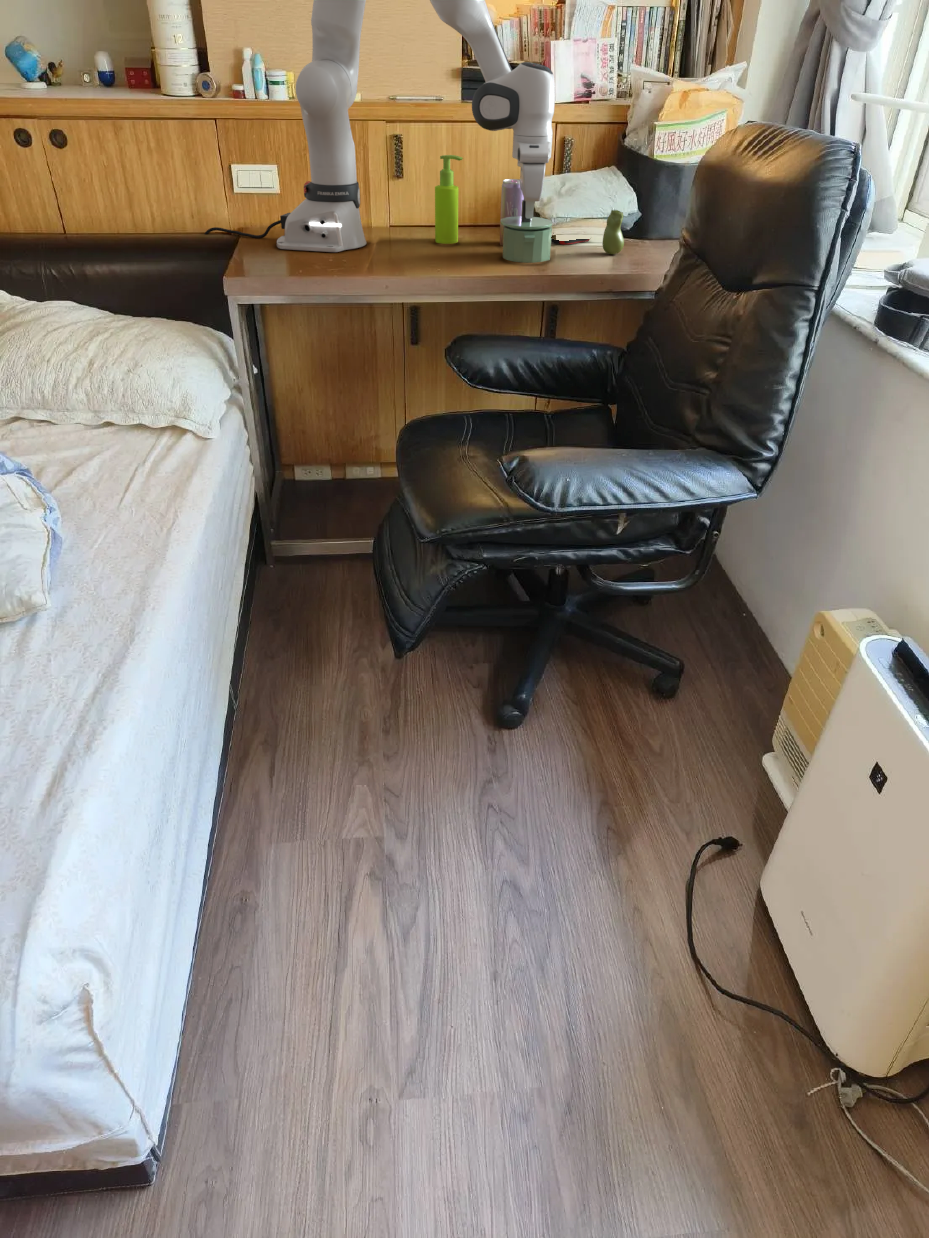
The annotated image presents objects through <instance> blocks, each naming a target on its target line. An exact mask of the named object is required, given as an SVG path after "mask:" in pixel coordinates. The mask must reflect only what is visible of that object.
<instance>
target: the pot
mask: <svg viewBox="0 0 929 1238" xmlns="http://www.w3.org/2000/svg"><path fill="white" fill-rule="evenodd" d="M552 235H553V227H552V226H551V227H548V228H543V229H539V230H519V229H513V228H510V227H507V226H504V228H503V245H502V254H501V255H502V258H503V259H504V260H507V261H509V262H515V263H525V264H527V263H528V264H529V263H530V264H531V263H542V262H547V261H550V260H551V250H552V249H551V248H552V242H551V237H552Z"/></svg>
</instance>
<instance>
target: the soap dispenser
mask: <svg viewBox="0 0 929 1238" xmlns="http://www.w3.org/2000/svg"><path fill="white" fill-rule="evenodd" d="M439 159H440V160H442V161H443V162H442V163H443V164H442V165H443V166H442V169H441V170H440V171H439V184H438V185H435V186H434V242H435V243H437V244H442V245H443V244H444V245H450V244H451V245H452V244H456V243H458V242H459V186H458V185H454V180H455V179H454V173H455V171H454V170H452V169H451V160H455V161H458V162H459V161H463V159H464V158H463V157H462V156H459V155H454V154H445V155H444V154H443V155H440V157H439Z"/></svg>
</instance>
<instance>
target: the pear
mask: <svg viewBox="0 0 929 1238" xmlns="http://www.w3.org/2000/svg"><path fill="white" fill-rule="evenodd" d="M623 220H624V212H622V211H620V210H618V209H611V211H610V214H609V215H608V217H607V218H606V226H605V229H604V230H603V235H602V236H603V237H602V245H601V246H602V249H603V251H604V252H605V253H606V254H608V255H617V254H619V253H620V252H622V251H623V249H624V245H625V239H624V236H623V232H622V229H621V226H622V223H623Z"/></svg>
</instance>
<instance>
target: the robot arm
mask: <svg viewBox="0 0 929 1238" xmlns="http://www.w3.org/2000/svg"><path fill="white" fill-rule="evenodd" d="M429 1H430V4H431V6H432V7H433V9H434V11H435V13H436V14H437V16H438V18H439V19H440V20H441V21H442V22H443V23H444V24H446V25H447V26H449V27H451V29H453V30H454V31H456V32H457V33H458V34H460V35H461V36H462V37H463V38H464V40H465V41H466V42H467V44H468V45H469V47H470V48H471V51H472V53H473V55H474V58H475V60H476V62H477V64H478V67H479V69H480V72H481V74H482V76H483V79H484V81H485V82H484V83H483V84H480V86H479V87H478V88H477V89H476V90H475V92H474V94H473V96H472V100H471V112H472V116H473V119H474V121H475V123H477V125H478V126H480V127H481V128H482V129H484V130H486V131H490V132H498V131H502V130H503V131H504V130H513V131H512V155H511V158H512V159H515V160H517V167H519V168H520V169H519V179H520V188H521V191H522V194H523V196H524V199H525V201H526V209H525V217H526V218H530V219H531V218H533V217H534V209H535V204H536V202H540V201H541V198H542V195H543V189H544V183H545V176H546V175H545V174H546V166H547V165H546V164H549V162H550V159H552V151H553V150H552V149H553V135H554V133H553V126H552V123H553V117H554V114H555V105H556V101H555V100H556V84H555V76H554V72H553V71H552V69H551V68H550V67H549V66H547V65H544V64H540V63H536V62H531V61H523V62H521V63H519V64H518V65H517V66H516V67H515V68H514V69H513V68H512V67H511V65H510V62H509V59H508V57H507V54H506V52H505V50H504V46H503V44H502V42H501V40H500V37H499V35H498V32H497V30H496V28H495V25H494V23H493V20H492V18H491V15H490V11H489V9H488V5H487V3H486V0H429ZM312 2H313V4H312V10H311V17H310V18H311V19H310V21H311V22H310V24H311V34H312V51H311V53H312V56H311V62H308V63H307V64H306V65H305V66H304V67H303V68H302V69H301V70H300V72H299V74H298V76H297V79H296V83H295V96H296V100H297V102H298V104H299V108H300V114H301V118H302V124H303V128H304V132H305V136H306V141H307V147H308V148H307V149H308V159H309V169H310V178H311V179H310V180H307V181H305V183H304V184H303V196H304V198H305V199H304V200H302V201H301V202H300V204H298V205H297V206H296V207H295V208H294V209H293V210H292V211H291V212H287V213H284V214H282V215H281V214H280V216H279V218H280V219H279V220H276V221H274V222H272V223H270V224H269V225H268V226H267V227H266V230H265V231H264V232H263V233H262V234H257V235H256V234H252V233H247V232H243V231H238V230H233V229H232V230H231V229H227V228H224V227H211V228H209V229H206V231H205V232H204V235H209V234H210V233H211V232H214V231H220V232H224V233H229V234H232V235H233V234H234V235H237V236H242V237H247V238H251V239H263V238H265V237H266V236H268V234H269V232H270V231H271V229H272V228H274V227H275V226H278V225H280V227H281V230H284V235H281V236H280V237H278V238H277V239H276V247H277V248H278V249H280V250H293V251H307V252H309V251H310V252H324V253H325V252H326V253H338V252H339V253H340V252H343V251H346V250H348V251H349V250H355V249H358V248H362V247H365V246H366V245H367V243H368V242H367V239H366V236H365V233H364V229H363V224H362V219H361V218H362V217H361V212H360V211H361V210H360V207H361V192H360V191H361V190H360V185H359V183H360V182H358V178H357V177H358V176H357V161H356V160H357V159H356V144H355V142H354V138H353V133H352V128H351V123H350V116H349V109H350V108H351V107H352V105H353V104H354V102H355V100H356V98H357V94H358V82H359V72H360V71H359V70H360V69H359V68H360V56H361V55H360V53H361V52H360V50H361V38H362V29H363V21H364V15H365V9H366V3H367V0H313V1H312Z"/></svg>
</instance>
